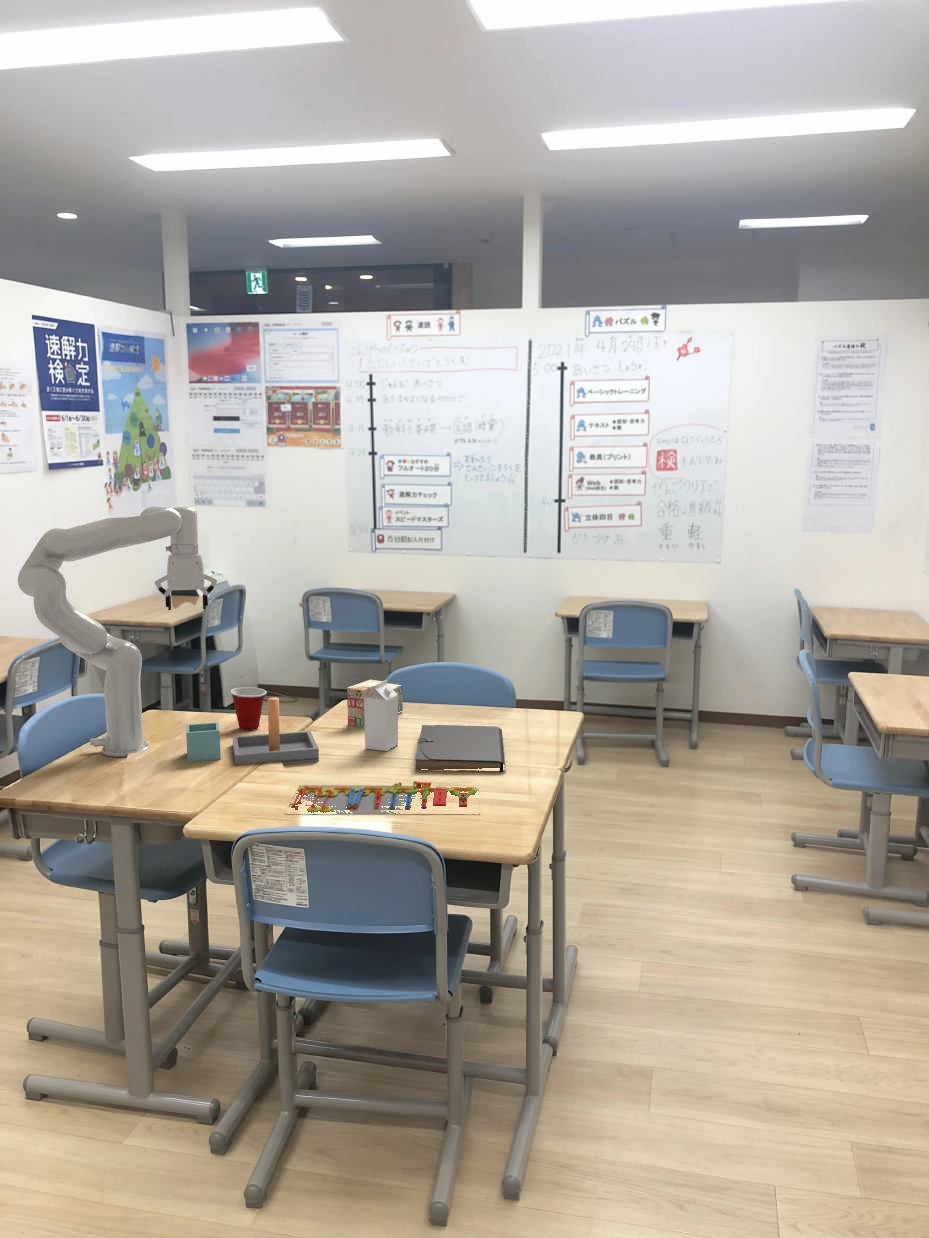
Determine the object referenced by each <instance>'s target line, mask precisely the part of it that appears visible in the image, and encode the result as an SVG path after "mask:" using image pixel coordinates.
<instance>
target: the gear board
mask: <svg viewBox="0 0 929 1238" xmlns="http://www.w3.org/2000/svg"><path fill="white" fill-rule="evenodd" d="M402 783H403V782H401V781H400V782H397V783H394V784H392V785H363V784H362V785H360V784H359V785H355V784H354V785H349V784H348V785H347V784H346V785H345V784H344V785H341V784H339V785H338V784H337V785H335V784H332V785H330V784H328V785H327V784H326V785H324V784H321V785H320V784H317V785H315V784H314V785H313V784H304V785H302V784H301V785H302V786H301V785H299V786H298V787H299V788H298V787H297V789H296V791H298V792H299V793H296V792H295V793H296V794H298V795H297V796H296V799H295V801H294V803H292V804H291V805H292V806H291V808H295V810H298V807H299V806H295V805H298V804H302V803H301V799H302V798H303V799H306V800H307V799H308V800H307V801H311V802H313V804H312V805H307V804H306V805H305V806H311V807H309V808H308V809H307V811H308V812H311V813H312V812H313V813H314V812H318V811H320V812H323V813H324V812H325V813H326V812H330V811H331V812H335V811H334V810H336V813H337V814H347V813H346V812H345V811H344V810H350V812H352V813H353V814H390V813H391V814H396V813H394V812H391V811H389V812H390V813H388V812H386V811H383V810H403V809H400V808H398V807H397V808H396V809H395V806H404V805H401V804H404V803H405V802H406V806H405V810H410V808H411V805H410V804H411V802H412V799H415V798H411V797H416V796H412V795H415V794H417V792H420V793H421V795H422V798H420V799H422V804H421V806H422V807H421V808H422V809H426V808H427V807H426V803H427V796H428V795H430V792H431V793H432V792H434V798H433V806H446V798H447V792H448V791H449V792H450V793H451V795H455V796H458V797H459V807H467V798H468V797H469V796H470V795H475V793H476V792H477V791H479V789H480V788H479V789H477V788H476V787H475V788H474V787H466V788H461V787H460V788H459V787H451V788H446V787H436V788H431V787H430V786H432V782H426V781H425V782H423V781H422V782H421V781H416V780H414V781H413V782H412V785H403V784H402ZM421 786H422V787H421ZM462 791H464V792H468V793H460V792H462ZM479 792H480V791H479ZM299 795H301V797H300V799H299V798H298V797H299ZM304 795H306V796H307V797H303V796H304ZM308 795H309V796H308ZM313 795H314V796H313ZM399 795H403V796H399ZM405 795H407V796H405ZM310 797H311V798H310ZM312 797H314V798H312ZM292 799H294V798H293V797H292ZM297 799H299V801H298V802H297V803H296V801H297ZM310 799H311V800H310ZM312 799H314V800H312ZM318 799H319V800H318ZM388 799H389V800H388ZM399 799H404V800H399ZM405 799H406V800H405ZM303 802H304V801H303ZM316 802H317V803H316ZM318 802H320V803H318ZM321 802H323V803H321ZM388 802H391V803H388ZM401 802H404V803H401ZM314 804H317V806H320V807H321V808H320V807H317V806H316V805H314ZM315 806H316V807H315ZM329 806H330V807H329ZM331 806H333V807H331ZM335 806H336V807H335ZM381 806H383V808H382V807H381ZM384 806H390V807H389V808H386V807H384ZM346 807H347V808H346ZM337 810H340V813H339V812H338V811H337ZM381 810H382V811H383V812H381ZM341 811H343V812H344V813H343V812H341ZM350 812H348V814H351V813H350ZM398 813H399V812H398ZM399 814H400V813H399Z"/></svg>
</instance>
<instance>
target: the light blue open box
mask: <svg viewBox="0 0 929 1238" xmlns="http://www.w3.org/2000/svg"><path fill="white" fill-rule="evenodd" d="M220 731H221V730H220V722H219V721H218V722H217V721H215V722H206V723H205V722H204V723H202V722H201V723H188V724H187V723H186V731H185V733H186V734H185V736H186V737H185V738H186V757H187V759H186V760H187V763H191V762H204V761H205V762H206V761H207V762H208V761H216V760H218V761H219V760H221V759H222V757H221V755H222V753H221V735H220V734H221V733H220Z"/></svg>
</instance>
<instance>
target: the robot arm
mask: <svg viewBox="0 0 929 1238" xmlns="http://www.w3.org/2000/svg"><path fill="white" fill-rule="evenodd" d="M167 537H170V544H169V545H168V546H165V552H169V553H170V554H169V555H168V558H167V566H166V569H167V570H166V573H167V574H166V575H163V576H162V577H160V578H158V579H156V580H155V581H154V585H155V586H156V588H157V590H158V591H159V592H160V593H161V594H162V595H163V596H164V597H165V607H166V608H168V611H171V610H172V595H171V593H172V592H173V591H194V590H195V591H198V590H200V592H201V593H202V609H203V610H206V608H207V607H208V606H209V601H208V600H209V599H208V597H209V596H208V595H209V594H210V593H211V592H212V591H213V590H214V589H215V586H216V585H217V582H218V580H217V579H216V578H214V577H212V576H210V575H207V574H206V573H204V563H203V558H202V555H201V554H200V553H199V536H198V512H197V509H196V508H194V507H192V506H178V507H177V506H176V507H166V506H165V507H164V506H151V507H150V506H149V507H146V508H145V509H143V510H142V511H141V512H140V515H135V516H128V517H126V516H125V517H123V516H122V517H121V516H120V517H108V518H103V519H100V520H96V521H91V522H87V523H85V524H81V525H76V526H73V527H70V528H59V527H58V528H57V527H56V528H51V529H49V530H47V531H46V532H45V533H44V534H43V535H42V536H41V537H40V539H39V540H38V542H37V543H36V545H35V547H34V548H33V550H32V551H31V553H30V554H29V556H28V558H27V559H26V561H25V562H24V563H23V565H22V567H21V569H19V570H20V571H19V572H18V575H17V584H18V587H19V589H20V591H21V592H23V594H25V595H27V596H29V597H33V607H34V612H35V615H36V617H37V619H38V620H39V622H40V624H42V626H44V627H45V628H47V630H49V631H50V632H52V633H53V634H54V635H56V636H57V637H58V640H59V642H60V643H61V644H62V645H63V646H64V647H65V648H66V649H67V650H69V651H70V652H73V653H74V654H76V655H77V656H78V657H80V658H82V659H84V660H85V661H87V662H88V663H90V664H91V665H93V666H95V667H96V668H98V669H101V670H104V671H105V673H106V674H105V678H104V687H103V695H104V696H103V697H104V709H105V710H104V711H105V723H106V724H105V725H106V726H105V727H106V734H105V736H102V737H99V738H98V737H96V738H95V737H93V738H89V739H90V740H89V741H90V742H89V743H90V746H94V747H95V748H97V747H102V748H101V754H103V755H104V756H107V757H116V758H119V757H120V758H122V757H123V758H124V757H128V755H130V754H134V753H135V754H136V753H139V752H142V751H144V750H146V749H148V748H149V747H150V743H149V742H147V741H144V730H143V714H142V713H143V710H142V707H143V706H142V695H141V693H142V692H141V691H142V689H141V676H142V675H141V673H142V666H143V655H142V653H141V651H140V649H139V648H138V646H136V644H134V643H133V642H131V641H129V640H125V639H122V638H117V637H114V636H113V635H111V634H109V633H108V632H107V629H106V628H105V626H104V625H102V623H100V622H98V621H97V620H95V619H93V618H91V617H90V616H89V615H87V614H85V613H84V612H82V611H81V610H79V609H78V608H76V607H75V606H74V605H72V603H70V602H69V600H68V599H67V583H66V579H65V577H64V575H63V574H62V573H61V572H60V571H59V570H60V568H61V567H62V565H63V563H64V562H75V561H79V560H82V559H86V558H90V557H92V556H96V555H99V554H103V553H107V552H109V551H114V550H117V549H123V548H129V547H132V546H136V545H141V544H145V543H146V544H147V543H149V542H154V541H157V540H161V539H164V538H167ZM205 580H206V581H208V582H210V585H209V586H208V587H207V588H206V587H205ZM165 581H166V583H167V587H168V588H167V589H165V588H164V587H163V586H162V583H164V582H165Z"/></svg>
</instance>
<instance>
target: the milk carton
mask: <svg viewBox="0 0 929 1238" xmlns="http://www.w3.org/2000/svg"><path fill="white" fill-rule="evenodd" d="M387 683H388V680H387V679H385V680H383V682H381V683H378V684H376V685H375V689H374V690H373V691H372V692H371V693H369V694H368V695H367V696H366V697H365V698H364V707H365V727H364V749H367V750H373V751H382V752H390V750H391V748H392V749H393V747H394V748H395V747H397V746H398V745H399V714H398V695H397V693H396V692H395V691H394V690H393V689H392V688H391V687H390V686H389V685H388V684H387ZM397 744H398V745H397ZM396 745H397V746H396Z"/></svg>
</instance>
